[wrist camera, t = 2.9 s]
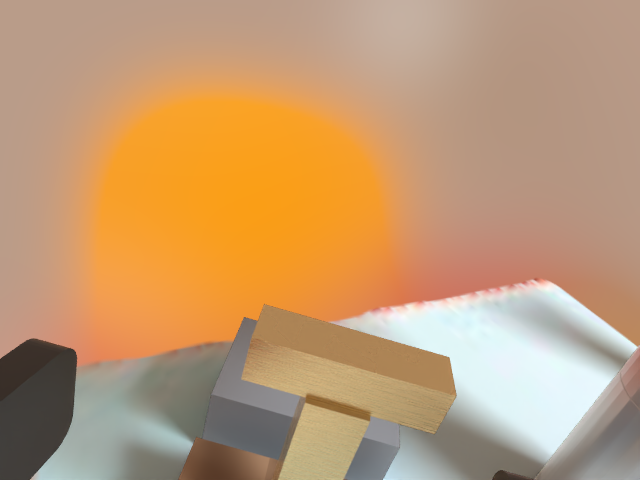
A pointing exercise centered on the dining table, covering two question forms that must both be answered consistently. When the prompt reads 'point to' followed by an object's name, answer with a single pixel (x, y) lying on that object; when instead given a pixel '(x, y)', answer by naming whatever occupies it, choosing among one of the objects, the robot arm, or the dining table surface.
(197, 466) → the block
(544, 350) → the dining table surface
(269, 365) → the t key
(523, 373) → the dining table surface
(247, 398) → the block
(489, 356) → the dining table surface
